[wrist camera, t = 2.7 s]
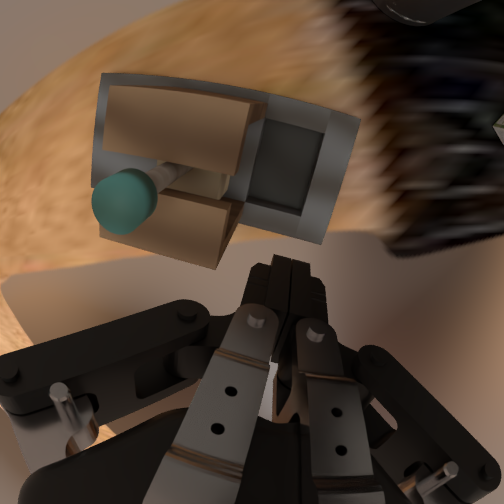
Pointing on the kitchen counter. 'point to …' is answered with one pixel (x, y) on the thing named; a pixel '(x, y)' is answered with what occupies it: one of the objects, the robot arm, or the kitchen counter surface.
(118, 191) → the slider block
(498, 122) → the syrup box
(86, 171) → the kitchen counter surface
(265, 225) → the tunnel
